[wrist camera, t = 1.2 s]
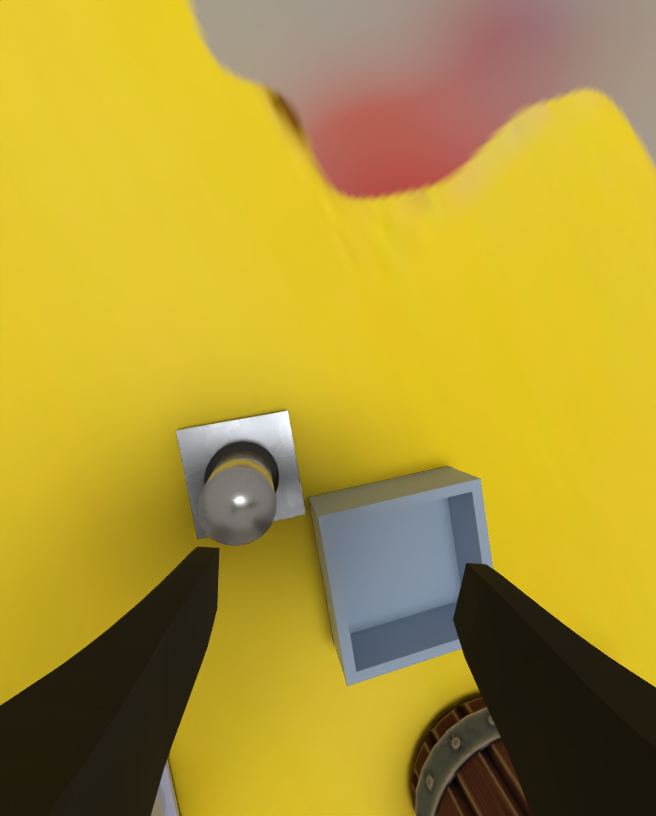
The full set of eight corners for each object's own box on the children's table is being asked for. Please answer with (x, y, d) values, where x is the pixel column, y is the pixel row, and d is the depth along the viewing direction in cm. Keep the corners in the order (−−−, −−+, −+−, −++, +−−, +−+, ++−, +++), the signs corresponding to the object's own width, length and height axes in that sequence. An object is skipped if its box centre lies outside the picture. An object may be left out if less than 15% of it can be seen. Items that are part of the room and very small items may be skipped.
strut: (214, 515, 20) (196, 566, 14) (201, 447, 19) (177, 470, 14) (283, 499, 20) (293, 542, 15) (271, 433, 20) (277, 450, 14)
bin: (333, 641, 22) (347, 686, 19) (308, 497, 22) (317, 516, 18) (467, 600, 24) (502, 635, 21) (447, 466, 23) (480, 478, 20)
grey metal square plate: (200, 532, 21) (197, 539, 20) (179, 429, 20) (175, 430, 19) (303, 508, 22) (305, 514, 21) (286, 410, 21) (287, 410, 20)
